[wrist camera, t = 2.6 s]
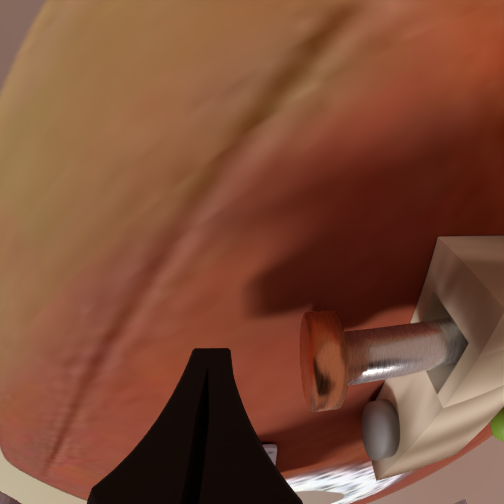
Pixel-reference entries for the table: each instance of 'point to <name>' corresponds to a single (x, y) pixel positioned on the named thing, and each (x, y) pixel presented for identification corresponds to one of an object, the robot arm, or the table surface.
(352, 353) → the lynch pin
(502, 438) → the snail figurine
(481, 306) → the beige block with pegs
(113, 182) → the table surface
